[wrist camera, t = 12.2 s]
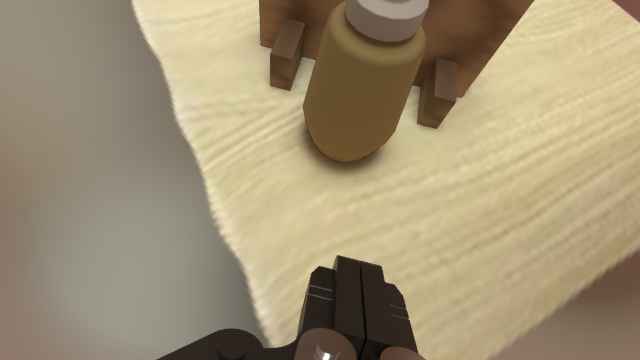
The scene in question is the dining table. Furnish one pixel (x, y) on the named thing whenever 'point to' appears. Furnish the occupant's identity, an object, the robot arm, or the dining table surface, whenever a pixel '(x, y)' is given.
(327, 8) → the walnut wall board
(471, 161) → the dining table surface
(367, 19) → the squeeze bottle
